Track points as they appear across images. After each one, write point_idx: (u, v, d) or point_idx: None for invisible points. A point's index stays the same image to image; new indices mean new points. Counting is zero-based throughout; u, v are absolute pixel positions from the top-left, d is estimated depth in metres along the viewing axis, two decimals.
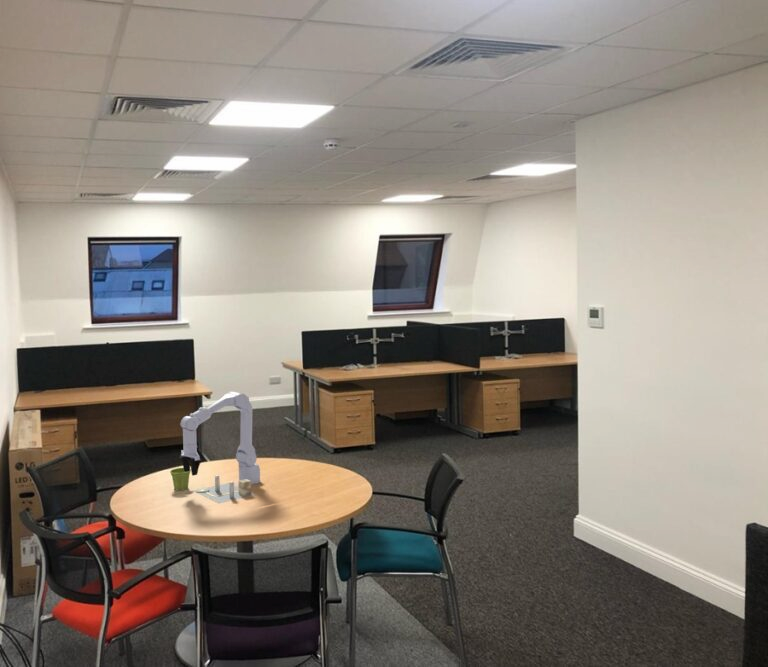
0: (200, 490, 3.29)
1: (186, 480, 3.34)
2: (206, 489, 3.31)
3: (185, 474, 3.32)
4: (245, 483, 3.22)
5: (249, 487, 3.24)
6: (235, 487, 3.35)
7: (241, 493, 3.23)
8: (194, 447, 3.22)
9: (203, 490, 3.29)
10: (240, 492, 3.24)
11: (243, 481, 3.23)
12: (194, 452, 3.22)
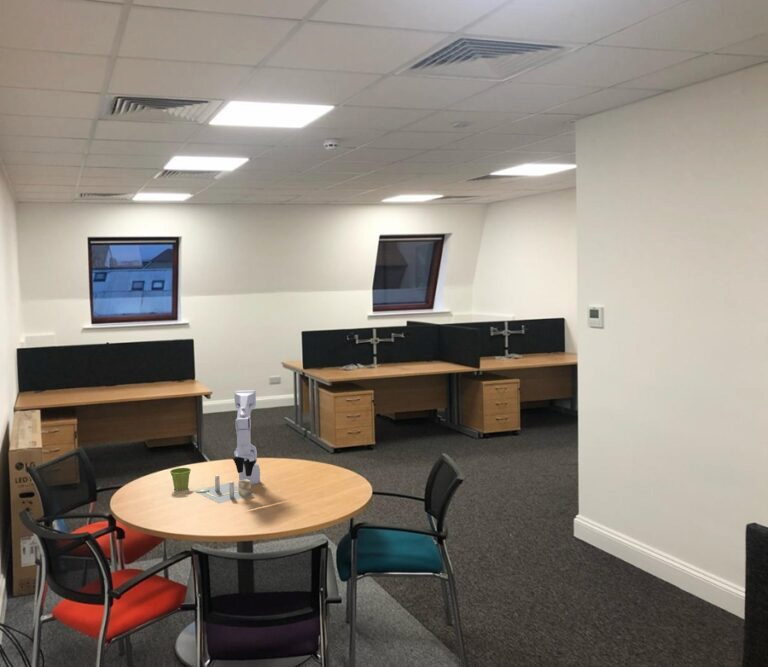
0: (200, 490, 3.29)
1: (186, 480, 3.34)
2: (206, 489, 3.31)
3: (185, 474, 3.32)
4: (245, 483, 3.22)
5: (249, 487, 3.24)
6: (235, 487, 3.35)
7: (241, 493, 3.23)
8: (248, 448, 3.22)
9: (203, 490, 3.29)
10: (240, 492, 3.24)
11: (243, 481, 3.23)
12: (248, 453, 3.22)
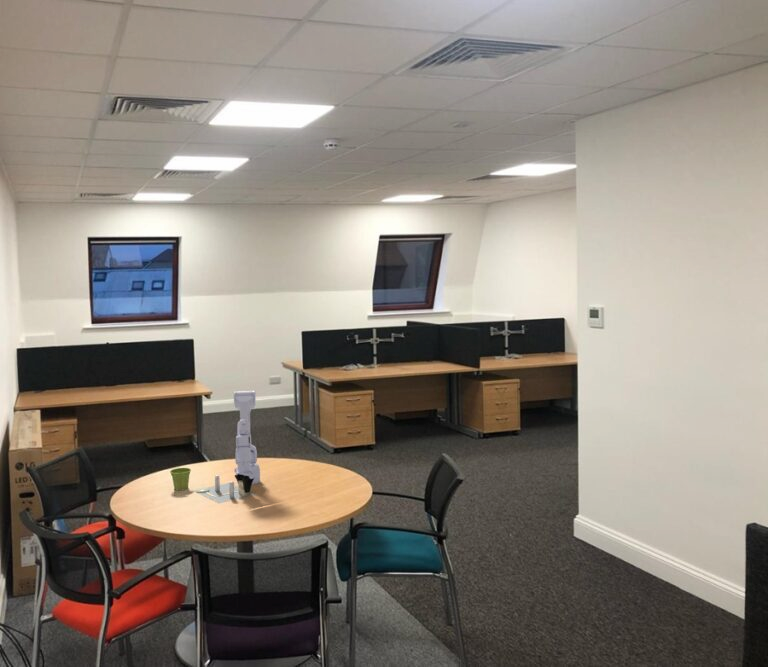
0: (200, 490, 3.29)
1: (186, 480, 3.34)
2: (206, 489, 3.31)
3: (185, 474, 3.32)
4: None
5: None
6: (235, 487, 3.35)
7: (241, 493, 3.23)
8: (248, 465, 3.22)
9: (203, 490, 3.29)
10: (240, 492, 3.24)
11: None
12: (248, 470, 3.22)
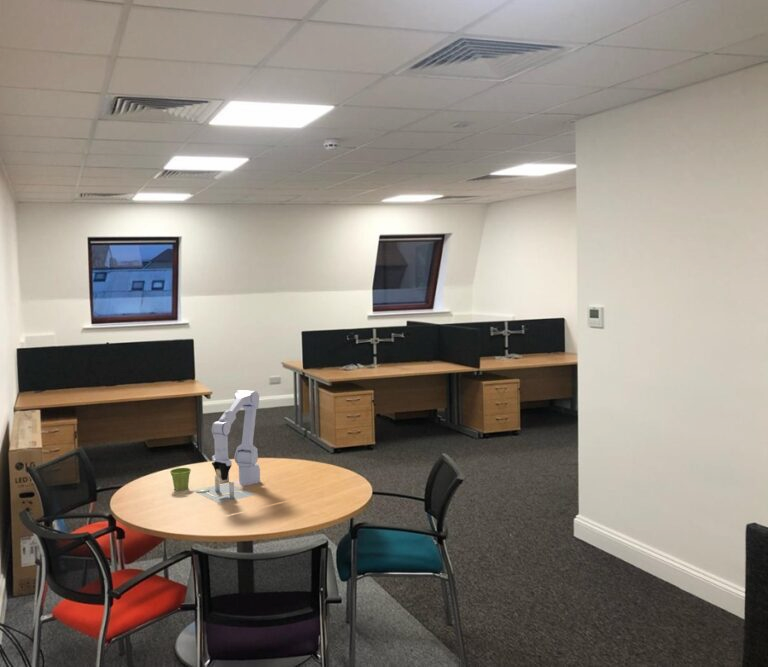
0: (200, 490, 3.29)
1: (186, 480, 3.34)
2: (206, 489, 3.31)
3: (185, 474, 3.32)
4: None
5: None
6: (235, 487, 3.35)
7: (219, 481, 3.22)
8: (226, 452, 3.21)
9: (203, 490, 3.29)
10: (218, 480, 3.22)
11: None
12: (225, 457, 3.21)
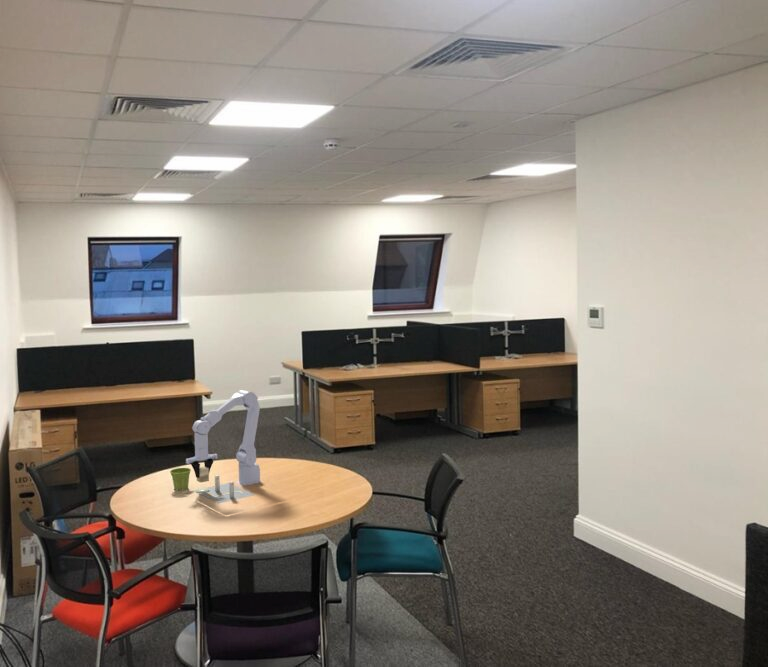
0: (200, 490, 3.29)
1: (186, 480, 3.34)
2: (206, 489, 3.31)
3: (185, 474, 3.32)
4: None
5: (199, 475, 3.27)
6: (235, 487, 3.35)
7: None
8: (197, 451, 3.26)
9: (203, 490, 3.29)
10: None
11: (200, 467, 3.29)
12: (196, 456, 3.26)
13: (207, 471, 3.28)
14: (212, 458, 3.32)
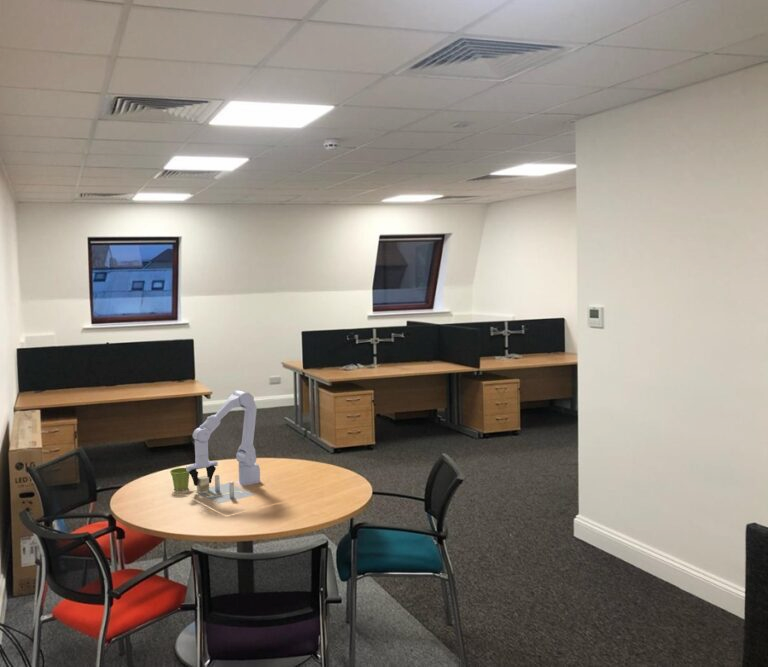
0: None
1: (186, 480, 3.34)
2: None
3: (185, 474, 3.32)
4: (198, 479, 3.28)
5: (200, 485, 3.27)
6: (235, 487, 3.35)
7: None
8: (197, 459, 3.26)
9: None
10: None
11: (200, 477, 3.29)
12: (197, 464, 3.27)
13: (207, 481, 3.29)
14: (212, 465, 3.32)
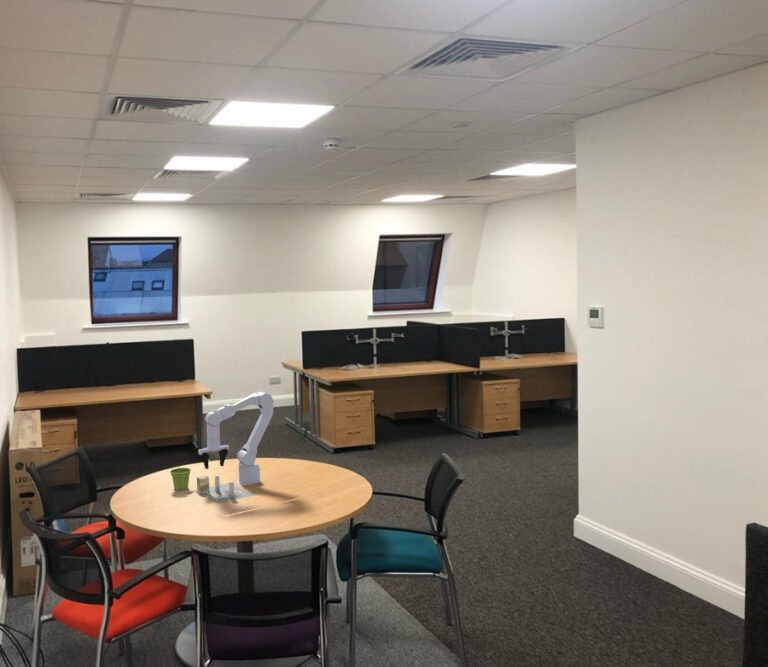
0: None
1: (186, 480, 3.34)
2: None
3: (185, 474, 3.32)
4: (198, 479, 3.28)
5: (200, 485, 3.27)
6: (235, 487, 3.35)
7: None
8: (209, 442, 3.32)
9: None
10: None
11: (200, 477, 3.29)
12: (209, 447, 3.32)
13: (207, 481, 3.29)
14: None
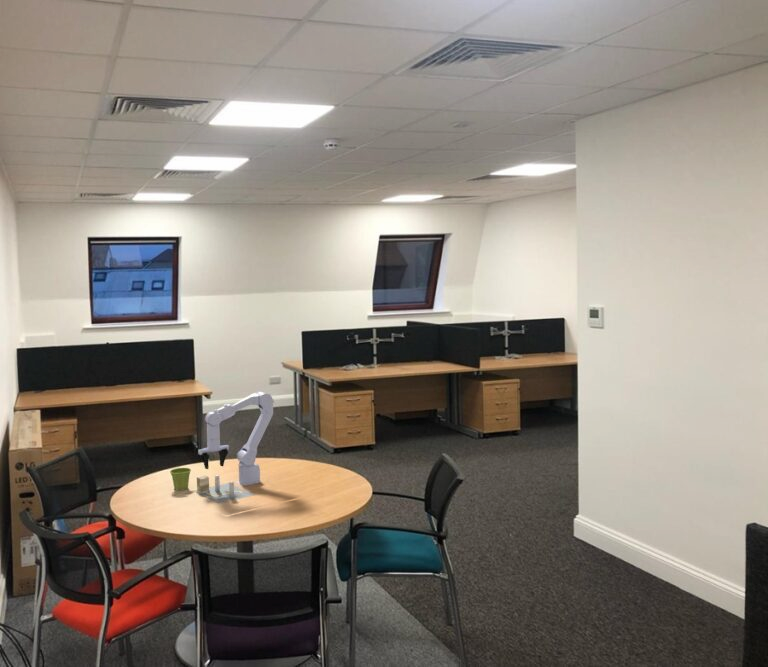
0: None
1: (186, 480, 3.34)
2: None
3: (185, 474, 3.32)
4: (198, 479, 3.28)
5: (200, 485, 3.27)
6: (235, 487, 3.35)
7: None
8: (209, 442, 3.32)
9: None
10: None
11: (200, 477, 3.29)
12: (209, 447, 3.32)
13: (207, 481, 3.29)
14: None
